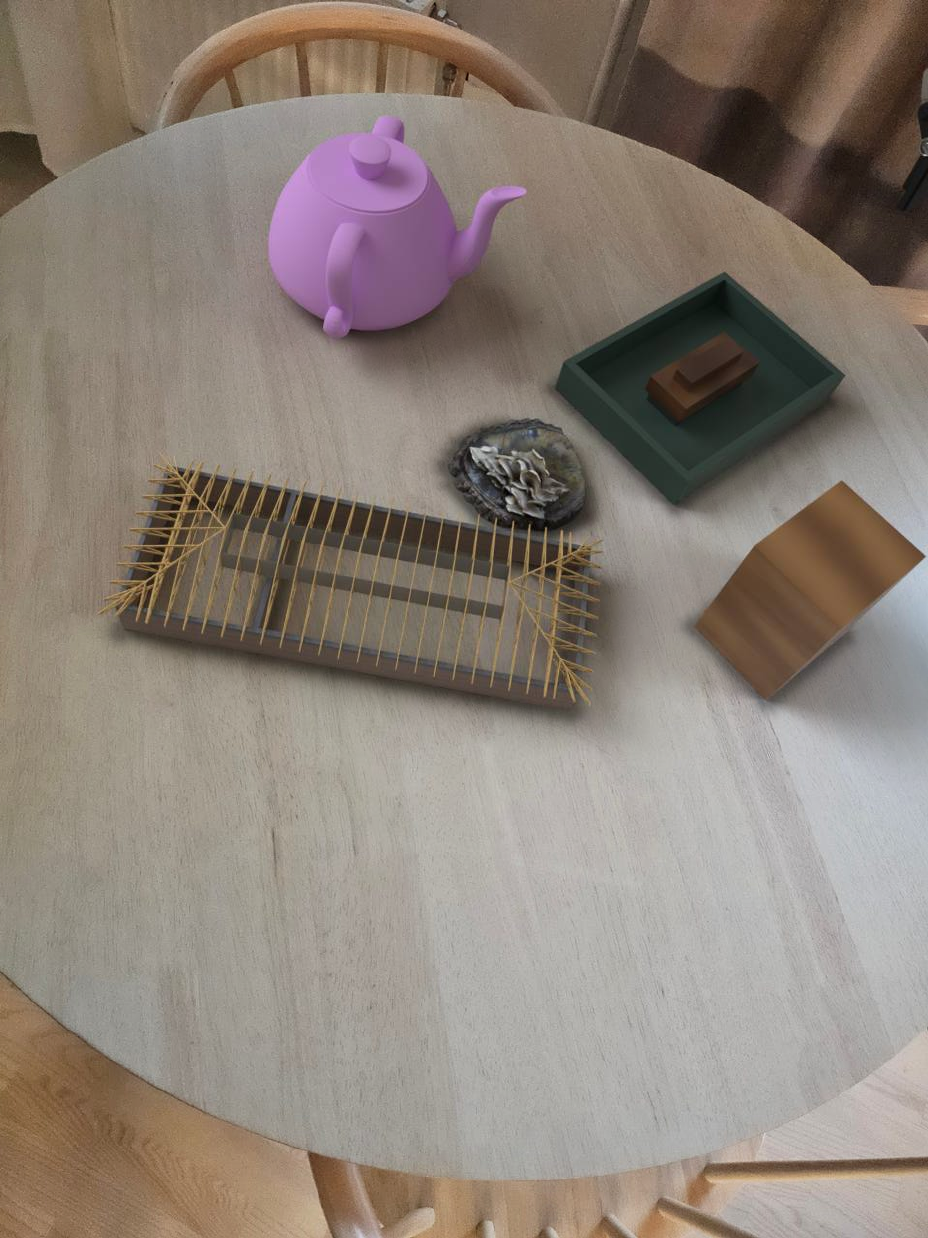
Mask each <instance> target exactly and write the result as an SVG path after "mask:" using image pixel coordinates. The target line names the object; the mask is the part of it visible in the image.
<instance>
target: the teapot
mask: <svg viewBox="0 0 928 1238" xmlns="http://www.w3.org/2000/svg"><path fill="white" fill-rule="evenodd" d="M404 141H405V124H404V122H403V121H402V120H401V119H399V118H398V117H395V116H393V115H382V116H380V117H379V118H378V119H377V120H376V122H375V124H374V126H373V129H372V131H371V132H350V133H344V134H340V135H336V136H334V137H331V138H329V139H327V140H325V141H322V143H320V144H318V145H317V147H315V148H314V149H313V150H312V151H311V152H310V153H309V154H308V155H307V156H306V158H304V160H303V161H302V162H301V163H300V165H299V166H298V167H297V169H295V171H294V173H293V174H292V175H291V177H290V178H289V180H287V182H286V184H285V186H284V188H283V189H282V191H281V192H280V195H279V197H278V200H277V201H276V205H275V208H274V211H273V214H272V218H271V222H270V226H269V232H268V240H267V242H268V249H267V250H268V260H269V264H270V268H271V270H272V273H273V274H274V276H275V279H276V280H277V282H278V284H279V285H280V287H281V288H282V290H283V291H284V292H285V293H286V294H287V295H288V296H289V297H290V298H291V299H292V300H294V302H295V303H296V304H298V305H299V306H300V307H301V308H303V309H305V310H306V311H308V312H309V313H310V314H312V315H314V316H316V317H317V318H319V319H321V320H323V325H322V326H323V327H322V329H323V332H324V333H325V335H327V336H328V337H330V338H332V339H342V338H344V337H345V336H347V335H348V333H350V330H358V331H366V332H367V331H368V332H369V331H383V330H384V331H385V330H391V329H395V328H398V327H401V326H404V325H407V324H409V323H412V322H414V321H416V320H418V319H420V318H422V317H424V316H425V315H427V314H429V313H430V312H432V311H433V310H434V309H435V308H436V307H438V306H439V305H440V304H441V302H442V301H443V300H444V299H445V298H446V297H447V295H448V294H449V292H450V290H451V289H452V287H453V285H454V283H455V281H456V280H458V279H461V278H464V277H466V276H468V275H469V274H470V273H472V272H473V271H474V270H475V269H476V268H477V267H478V266H479V265H480V263H481V262H482V260H483V259H484V256H485V254H486V252H487V250H488V247H489V244H490V240H491V234H492V231H493V227H494V223H495V221H496V218H497V216H498V214H499V212H500V210H501V209H502V208H504V206H506V205H507V204H510V203H511V202H513V201H515V200H517V199H520V198H522V197H523V196H526V194H527V190H526V188H524V187H521V186H516V185H503V186H497V187H493V188H491V189H489V190H488V191H486V192H485V193H484V194H482V196H481V197H480V199H479V200H478V202H477V204H476V207H475V209H474V213H473V217H472V220H471V223H470V225H469V226H468V227H466V228H465V229H461V230H458V231H457V227H456V223H455V218H454V216H453V211H452V210H451V207H450V203H449V202H448V200H447V198H446V195H445V193H444V192H443V190H442V187H441V185H440V184H439V182H438V181H437V179H436V177H435V175H434V174H433V172H432V171H431V169H430V167H429V166H428V165H427V163H426V162H425V161H424V160H423V158H422V157H421V156H420V155H419V154H418V153H417V152H416V151H415V150H414V149H413V148H411V147H410V146H408V145H406V144H405V143H404Z"/></svg>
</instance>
